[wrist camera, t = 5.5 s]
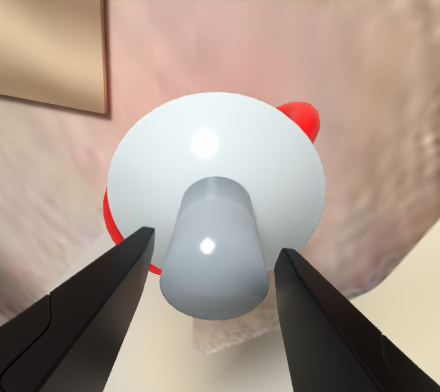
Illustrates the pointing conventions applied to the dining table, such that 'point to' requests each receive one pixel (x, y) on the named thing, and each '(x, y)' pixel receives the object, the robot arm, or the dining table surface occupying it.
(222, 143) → the lid
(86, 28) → the mat
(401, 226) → the dining table surface
